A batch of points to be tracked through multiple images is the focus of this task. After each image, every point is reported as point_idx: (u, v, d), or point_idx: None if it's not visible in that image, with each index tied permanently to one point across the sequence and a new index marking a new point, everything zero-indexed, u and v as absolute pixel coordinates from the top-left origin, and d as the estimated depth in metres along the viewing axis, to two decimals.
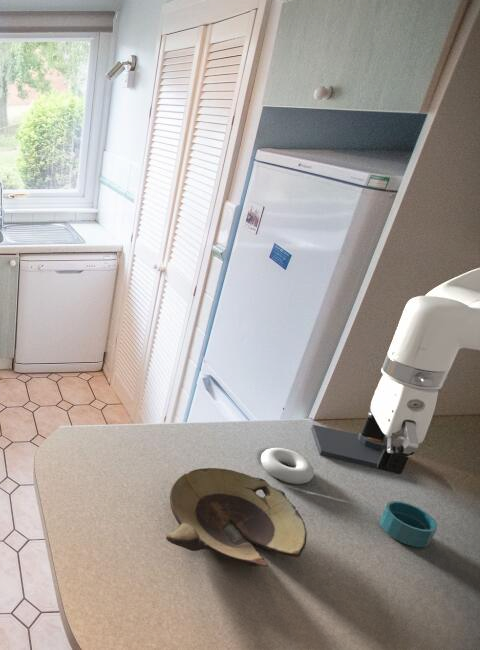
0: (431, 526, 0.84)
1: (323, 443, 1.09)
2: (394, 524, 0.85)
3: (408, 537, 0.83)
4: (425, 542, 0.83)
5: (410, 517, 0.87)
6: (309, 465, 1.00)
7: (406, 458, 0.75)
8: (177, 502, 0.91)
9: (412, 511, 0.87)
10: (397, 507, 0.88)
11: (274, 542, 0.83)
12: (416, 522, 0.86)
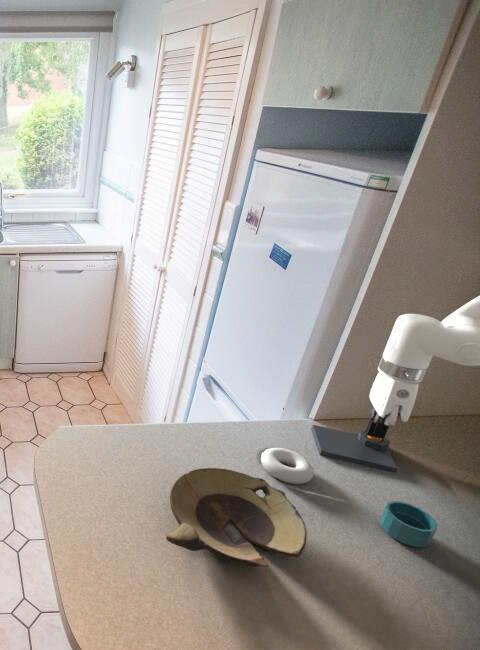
0: (431, 526, 0.84)
1: (323, 443, 1.09)
2: (394, 524, 0.85)
3: (408, 537, 0.83)
4: (425, 542, 0.83)
5: (410, 517, 0.87)
6: (309, 465, 1.00)
7: (387, 427, 1.05)
8: (177, 502, 0.91)
9: (412, 511, 0.87)
10: (397, 507, 0.88)
11: (274, 542, 0.83)
12: (416, 522, 0.86)
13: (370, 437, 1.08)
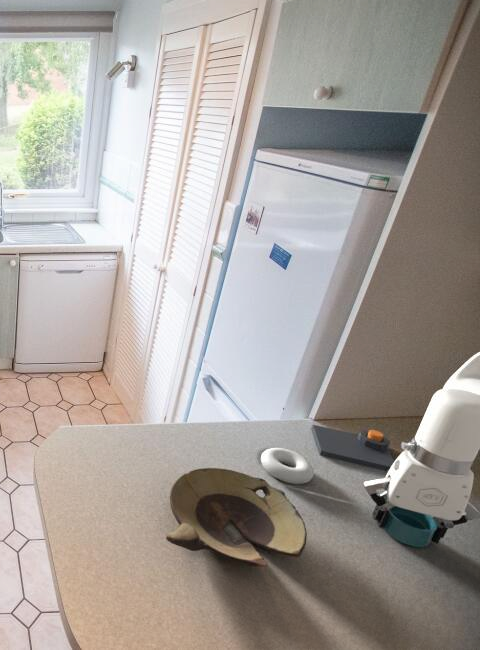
0: (431, 526, 0.84)
1: (323, 443, 1.09)
2: (394, 524, 0.85)
3: (408, 537, 0.83)
4: (425, 542, 0.83)
5: (410, 517, 0.87)
6: (309, 465, 1.00)
7: (384, 514, 0.86)
8: (177, 502, 0.91)
9: (412, 511, 0.87)
10: (397, 507, 0.88)
11: (274, 542, 0.83)
12: (416, 522, 0.86)
13: (371, 435, 1.08)
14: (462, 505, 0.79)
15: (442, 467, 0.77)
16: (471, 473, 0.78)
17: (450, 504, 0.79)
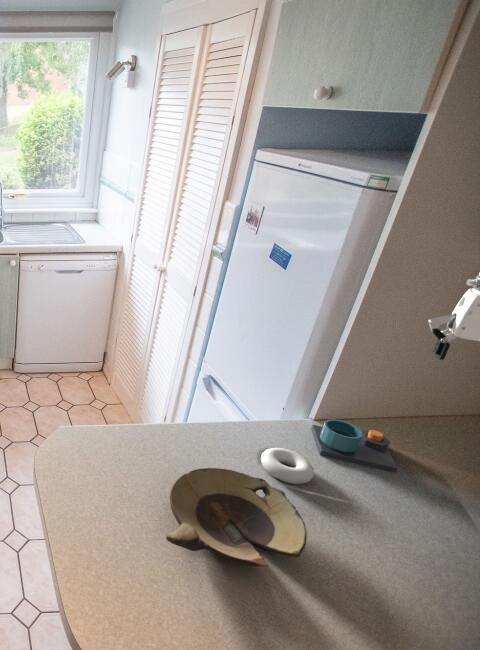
0: (358, 436, 1.06)
1: (323, 443, 1.09)
2: (329, 435, 1.07)
3: (340, 444, 1.05)
4: (352, 448, 1.05)
5: (343, 431, 1.09)
6: (309, 465, 1.00)
7: (444, 345, 0.98)
8: (177, 502, 0.91)
9: (345, 427, 1.09)
10: (334, 424, 1.10)
11: (274, 542, 0.83)
12: (348, 434, 1.08)
13: (371, 435, 1.08)
14: None
15: None
16: None
17: None
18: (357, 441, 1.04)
